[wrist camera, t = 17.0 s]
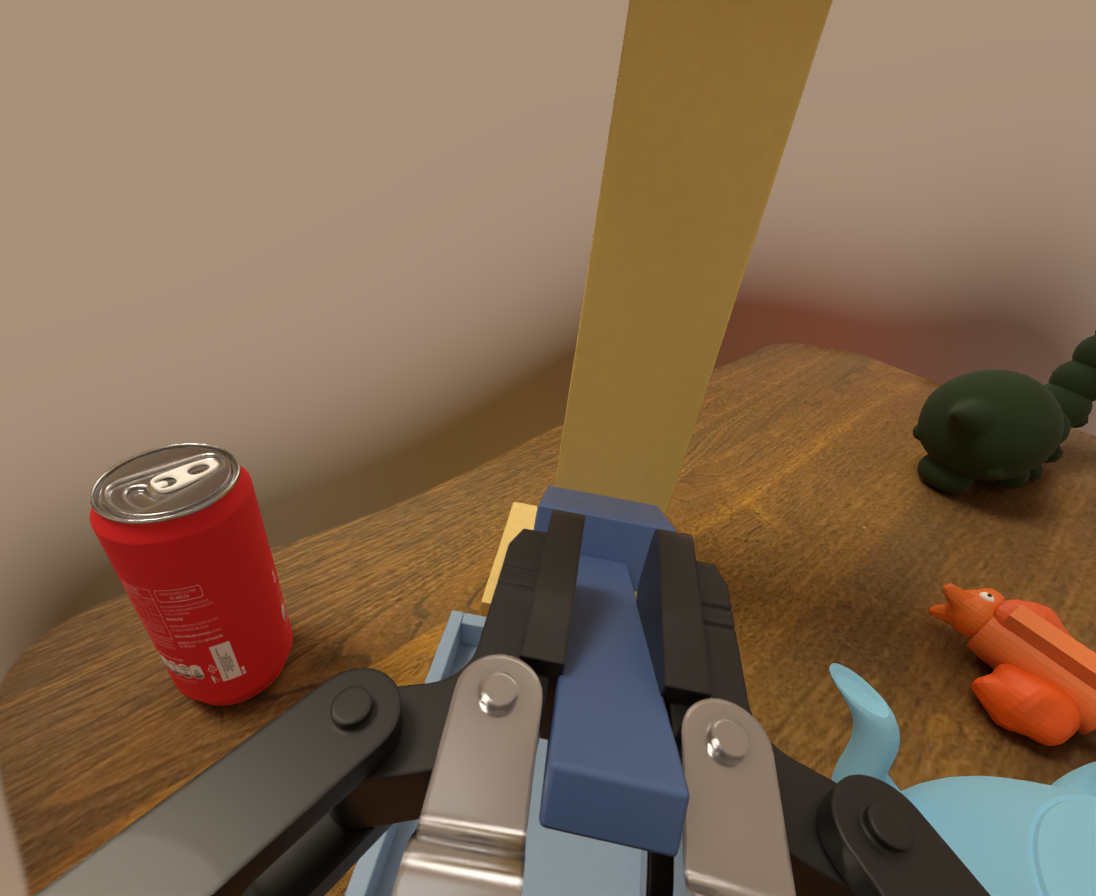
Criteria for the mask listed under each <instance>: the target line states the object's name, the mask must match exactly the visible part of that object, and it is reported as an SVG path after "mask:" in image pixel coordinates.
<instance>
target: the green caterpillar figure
mask: <svg viewBox="0 0 1096 896" xmlns="http://www.w3.org/2000/svg"><path fill="white" fill-rule="evenodd" d="M1072 358H1073V360H1072V361H1069V362H1066V363H1064V364H1062V365H1060V366H1059V367H1058V368H1057V369H1056V370H1054V371H1053V373H1052V375H1051V377H1050V379H1049V384H1046V385H1042V384H1041V383H1040V382H1038V381H1036V380H1035V379H1033V378H1031V377H1029V376H1027V375H1024V374H1020V373H1017V372H1014V371H1006V370H980V371H974V372H970V373H967V374H964V375H961V376H958V377H956V378H954V379H952V380H950V381H948V382H946V383H945V384H943V385H942V386H940V387H939V388H937V389H936V390H935V391H934V392H933V393H932V394H931V395H930V396H929V397H928V399H927V400H926V402H925V404H924V406H923V408H922V410H921V413H920V416H919V420H918V424H917V425H916V426H915V427H914V429H913V435H914V437H915V438H916V439H918V440H920V442H921V444H922V445H923V447H924V449H925V450H926V452H927V453H928V454H929V455H926V456H925V457H923V458H922V459H921V460H920V462H919V465H918V471H919V475H920V476H921V477H922V478H923V479H924V481H926V482H927V483H929V484H930V485H932V486H933V487H935V488H937V489H939V490H941V491H943V492H947V493H950V494H960V493H964V492H966V491H967V490H969V489H970V488H971V487H972V485H973V483H974V479H979V480H994V481H995V483H996V484H998V485H1000V486H1002V487H1004V488H1018V487H1020V486H1023V485H1025V484H1026V483H1027V481H1034V480H1036V479H1038V478H1040V477H1041V473H1042V469H1043V468H1042V466H1041V464H1042V463H1043V462H1045V463H1049V462H1055V461H1057V460H1058V459H1060V458H1061V456H1062V453H1063V451H1062V449H1061V447H1060V444H1061V443H1062V442H1064V441H1065V439H1066V438H1067V437H1068V435H1069V432H1070V429H1071V427H1073V428H1078V427H1082V426H1084V425H1085V424H1087V423H1088V415H1089V414H1090V412H1091V410H1092V401H1095V400H1096V331H1095V335H1094V336H1091V337H1088V338H1087V339H1085V340H1083V341H1082V342H1081V343H1080V344H1079V345H1078V346H1077V347H1076V349H1075V351H1074V353H1073V356H1072Z"/></svg>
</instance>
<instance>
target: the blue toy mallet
mask: <svg viewBox="0 0 1096 896" xmlns="http://www.w3.org/2000/svg"><path fill="white" fill-rule="evenodd" d="M552 509H555V510H561V511H566V512H571V513H577V514H582V515H585V523H584V530H583V538H582V545H581V552H580V559H579V567H578V574H577V581H576V588H575V596H574V603H573V610H572V617H571V625H570V632H569V639H568V646H567V654H566V661H565V667H564V671H563V675H560V676H559V677H558V680H557V685H556V689H555V694H554V699H553V703H552V711H551V719H550V728H549V736H548V745H547V753H546V761H545V770H544V778H543V787H542V795H541V803H540V812H539V820H540V824H541V826H543V827H544V828H548V829H552V830H557V831H561V832H566V833H570V834H574V835H579V836H583V837H587V838H592V839H596V840H601V841H605V842H609V843H614V844H618V845H622V846H627V847H631V848H636V849H640V850H644V851H649V852H653V853H657V854H662V855H666V856H671V857H673V856H676V855H677V853H678V851H679V847H680V842H681V837H682V832H683V827H684V822H685V818H686V813H687V808H688V803H689V798H690V794H689V790H688V786H687V782H686V779H685V775H684V771H683V768H682V764H681V760H680V757H679V753H678V750H677V746H676V742H675V739H674V735H673V731H672V728H671V724H670V720H669V717H668V713H667V709H666V706H665V702H664V698H663V697H662V696H660V692H659V688H658V684H657V681H656V677H655V673H654V669H653V665H652V662H651V658H650V654H649V650H648V646H647V643H646V639H645V635H644V631H643V628H642V624H641V620H640V616H639V612H638V609H637V605H636V596H635V593H634V592H637V590H638V584H639V580H640V576H641V573H642V569H643V566H644V563H645V560H646V556H647V553H648V550H649V547H650V544H651V540H652V537H653V534H654V532H655V530H656V529H662V530H668V531H673V532H677V531H676V529H675V528H674V527H673V525H672V524H671V523H670V522H669V520H668V519H667V518H666V516H665V515H664V514H663V513H662V511H661V510H660V509H659V508H658V507H657V506H656V505H651V504H645V503H640V502H635V501H629V500H624V499H619V498H613V497H608V496H603V495H597V494H592V493H586V492H581V491H576V490H570V489H565V488H560V487H554V486H549V487H548V488H547V490H546V492H545V494H544V495H543V497H542V499H541V501H540V503H539V505H538V507H537V512H536V518H535V524H534V529H533V530H535V531H540V532H546V533H547V531H548V526H549V522H550V517H551V513H552Z"/></svg>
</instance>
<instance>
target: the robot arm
mask: <svg viewBox="0 0 1096 896" xmlns="http://www.w3.org/2000/svg"><path fill="white" fill-rule="evenodd" d="M584 523H585V515H582V514H577V513H571V512H566V511H561V510H555V509H552V513H551V517H550V522H549V526H548V531H547V533H546V532H540V531H535V530H530V529H525V528H524V529H523V530H522V531H521V532H520V533H519V534H518V535H517V536H516V537H515V538H514V539H513V540H512V541H511V542H510V543H509V545H508V548H507V552H506V555H505V558H504V561H503V566H502V568H501V571H500V575H499V578H498V582H497V584H496V588H495V591H494V594H493V597H492V601H491V604H490V607H489V611H488V614H487V617H486V620H485V624H484V627H483V630H482V634H481V637H480V640H479V643H478V646H477V649H476V651H475V654H474V655H473V657H472V659H471V660H470V661H469V662H468V663H467V665H466V666H465V667H463V668H462V669H461V670H460V671H459V672H457V673H456V674H454V675H452V676H450V677H448V678H446V679H443V680H440V681H437V682H432V683H425V684H417V685H408V686H400V687H397V685H396V684H395V682H394V681H393V680H392V679H391V678H390V677H389V676H388V675H386V674H385V673H383V672H381V671H378V670H375V669H370V668H356V669H350V670H347V671H343V672H341V673H339V674H337V675H334V676H333V677H331V678H330V679H328V680H326V681H325V682H324V683H322V684H321V685H320V686H318V687H317V688H316V689H314V690H313V691H311V692H310V693H309V694H307V695H306V696H305V697H303V698H302V699H301V700H299V701H298V702H296V703H295V704H294V705H292V706H291V707H290V708H288V709H287V710H286V711H284V712H283V713H281V714H280V715H279V716H277V717H276V718H275V719H273V720H272V721H271V722H269V723H268V724H266V725H265V726H264V727H262V728H261V729H260V730H258V731H257V732H256V733H254V734H253V735H251V736H250V737H249V738H247V739H246V740H245V741H243V742H242V743H241V744H239V745H238V746H236V747H235V748H234V749H232V750H231V751H230V752H228V753H227V754H226V755H224V756H223V757H221V758H220V759H219V760H217V761H216V762H215V763H213V764H212V765H211V766H209V767H208V768H206V769H205V770H204V771H202V772H201V773H200V774H198V775H197V776H196V777H194V778H193V779H191V780H190V781H189V782H187V783H186V784H185V785H183V786H182V787H181V788H179V789H178V790H176V791H175V792H174V793H172V794H171V795H170V796H168V797H167V798H166V799H164V800H163V801H161V802H160V803H159V804H157V805H156V806H155V807H153V808H152V809H151V810H149V811H148V812H146V813H145V814H144V815H142V816H141V817H140V818H138V819H137V820H136V821H134V822H133V823H131V824H130V825H129V826H127V827H126V828H125V829H123V830H122V831H121V832H119V833H118V834H116V835H115V836H114V837H112V838H111V839H110V840H108V841H107V842H106V843H104V844H103V845H102V846H100V847H99V848H97V849H96V850H95V851H93V852H92V853H91V854H89V855H88V856H87V857H85V858H84V859H82V860H81V861H80V862H78V863H77V864H76V865H74V866H73V867H72V868H70V869H69V870H67V871H66V872H65V873H63V874H62V875H61V876H59V877H58V878H57V879H55V880H54V881H52V882H51V883H50V884H48V885H47V886H46V887H44V888H43V889H42V890H40V891H39V892H37V893H36V894H35V895H33V896H324V895H325V894H326V893H327V892H328V891H329V890H330V889H331V888H332V887H333V886H334V885H335V884H336V883H337V882H338V881H339V880H340V879H341V878H342V877H343V875H344V874H345V873H346V872H347V871H348V870H349V869H350V868H351V867H352V866H353V865H354V864H355V863H356V862H357V861H358V860H359V859H360V858H361V857H362V856H363V855H364V854H365V853H366V852H367V851H368V850H369V849H370V848H371V847H372V846H373V844H374V843H375V842H376V841H377V840H378V839H379V838H380V837H381V836H382V835H383V834H384V833H385V832H386V831H387V830H388V829H389V828H390V827H391V826H392V825H393V824H395V823H400V822H406V821H412V820H417V819H419V822H418V824H417V827H416V829H415V831H414V833H413V834H412V835H411V837H410V839H409V841H408V843H407V846H406V848H405V851H404V854H403V857H402V860H401V863H400V866H399V870H398V873H397V877H396V880H395V884H394V888H393V891H392V895H391V896H522V889H523V879H524V869H525V848H526V837H527V828H528V819H529V811H530V802H531V794H532V785H533V777H534V768H535V759H536V753H537V748H538V743H539V738H541V739H545V740H548V736H549V728H550V719H551V711H552V703H553V699H554V694H555V689H556V685H557V680H558V677H559V676H560V675H563V671H564V667H565V661H566V654H567V646H568V639H569V632H570V625H571V617H572V610H573V603H574V596H575V588H576V581H577V574H578V567H579V559H580V552H581V545H582V538H583V530H584ZM636 605H637V609H638V612H639V616H640V620H641V624H642V628H643V631H644V635H645V639H646V643H647V646H648V650H649V654H650V658H651V662H652V665H653V669H654V673H655V677H656V681H657V684H658V688H659V692H660V696H662V697H663V698H664V702H665V706H666V709H667V713H668V717H669V720H670V724H671V728H672V731H673V735H674V739H675V742H676V746H677V750H678V753H679V757H680V760H681V764H682V768H683V771H684V775H685V779H686V782H687V786H688V790H689V794H690V798H689V803H688V808H687V813H686V818H685V822H684V827H683V832H682V837H681V842H680V847H679V851H678V853H677V855H676V856H673V857H671V856H666V855H662V854H657V853H653V852H649V851H644V850H641V875H640V896H991V895H990V894H989V893H988V892H987V891H986V889H985V888H984V887H983V886H982V885H981V883H980V882H979V881H978V880H977V879H976V878H975V876H974V875H973V874H972V873H971V872H970V870H969V869H968V868H967V867H966V866H965V865H964V863H963V862H962V861H961V860H960V859H959V857H958V856H957V855H956V854H955V853H954V852H953V850H952V849H951V848H950V847H949V846H948V844H947V843H946V842H945V841H944V840H943V839H942V837H941V836H940V835H939V834H938V833H937V831H936V830H935V829H934V828H933V827H932V826H931V824H930V823H929V822H928V821H927V820H926V818H925V817H924V816H923V815H922V814H921V813H920V811H919V810H918V809H917V808H916V807H915V806H914V805H913V804H912V803H911V801H910V800H908V799H907V798H906V797H905V796H904V795H903V794H902V793H900V792H899V791H898V790H896V789H895V788H894V787H892V786H891V785H889V784H887V783H885V782H884V781H881V780H879V779H877V778H874V777H871V776H867V775H860V774H857V775H850V776H847V777H844V778H843V779H842V780H840V781H839V782H838V783H836V782H834V781H832V780H830V779H828V778H827V777H825V776H823V775H821V774H819V773H817V772H815V771H814V770H812V769H810V768H808V767H806V766H804V765H802V764H801V763H799V762H797V761H795V760H793V759H792V758H790V757H788V756H787V755H785V754H784V753H783V752H781V751H780V750H779V749H778V748H777V747H775V746H774V745H773V744H772V743H771V742H770V740H769V738H768V736H767V734H766V733H765V731H764V729H763V728H762V726H761V725H760V724H759V722H758V721H757V720H756V719H755V718H754V717H753V716H752V713H751V711H750V707H749V703H748V698H747V693H746V687H745V682H744V676H743V670H742V665H741V659H740V654H739V648H738V642H737V637H736V631H734V627H735V626H734V620H733V614H732V612H731V603H730V598H729V592H728V586H727V584H726V583H725V581H724V580H723V578H722V577H721V575H720V573H719V572H718V570H717V569H716V567H715V566H714V564H709V563H703V562H698V561H696V559H695V550H694V542H693V537H692V535H689V534H684V533H678V532H673V531H668V530H662V529H656V530H655V532H654V534H653V537H652V540H651V544H650V547H649V550H648V553H647V556H646V560H645V563H644V566H643V569H642V573H641V576H640V580H639V584H638V590H637V597H636Z"/></svg>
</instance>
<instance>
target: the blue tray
mask: <svg viewBox="0 0 1096 896" xmlns="http://www.w3.org/2000/svg"><path fill="white" fill-rule="evenodd" d="M485 620H486V617H484V616H479V615H474V614H469V613H465V614H464V613H463V612H459V611H454V610H452V612H451V614H450V617H449V619H448V622H447V625H446V627H445V630H444V633H443V635H442V638H441V641H440V643H439V646H438V649H437V651H436V654H435V657H434V659H433V662H432V665H431V667H430V670H429V672H428V675H427V678H426V680H425V683H432V682H437V681H440V680H443V679H446V678H448V677H450V676H452V675H454V674H456V673H457V672H459V671H460V670H461V669H462V668H463V667H465V666H466V665H467V663H468V662H469V661H470V660H471V659H472V657H473V655H474V654H475V651H476V649H477V646H478V643H479V640H480V637H481V634H482V630H483V627H484V624H485ZM425 683H424V684H425ZM547 745H548V740H545V739H541V738H539V743H538V748H537V753H536V759H535V768H534V777H533V785H532V794H531V802H530V811H529V819H528V828H527V837H526V848H525V869H524V879H523V889H522V896H640V875H641V850H640V849H636V848H631V847H627V846H622V845H618V844H614V843H609V842H605V841H601V840H596V839H592V838H587V837H583V836H579V835H574V834H570V833H566V832H561V831H557V830H552V829H548V828H544V827H543V826H541V824H540V820H539V812H540V803H541V795H542V787H543V778H544V770H545V761H546V753H547ZM418 822H419V819H417V820H412V821H406V822H400V823H395V824H393V825H392V826H391V827H390V828H389V829H388V830H387V831H386V832H385V833H384V834H383V835H382V836H381V837H380V838H379V839H378V840H377V841H376V842H375V843H374V844H373V846H372V847H371V848H370V849H369V850H368V851H367V852H366V853H365V854H364V855H363V856H362V857H361V858H360V859H359V860H358V861H357V863H356V866H355V869H354V871H353V874H352V877H351V879H350V882H349V884H348V887H347V890H346V892H345V895H344V896H391V895H392V891H393V888H394V884H395V880H396V877H397V873H398V870H399V866H400V863H401V860H402V857H403V854H404V851H405V848H406V846H407V843H408V841H409V839H410V837H411V835H412V834H413V833H414V831H415V829H416V827H417V824H418Z"/></svg>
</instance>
